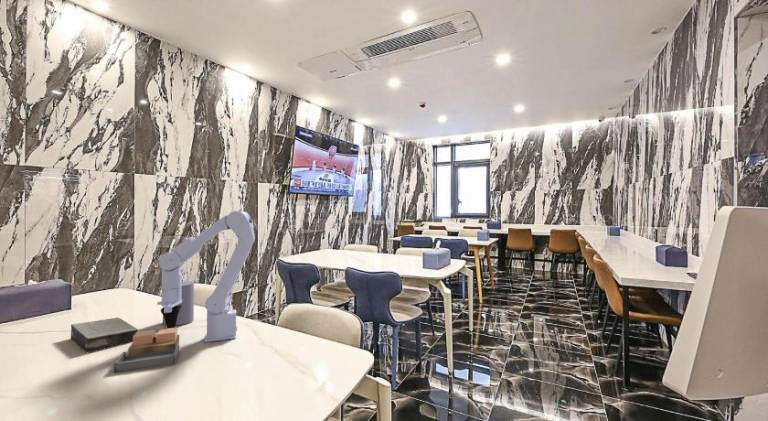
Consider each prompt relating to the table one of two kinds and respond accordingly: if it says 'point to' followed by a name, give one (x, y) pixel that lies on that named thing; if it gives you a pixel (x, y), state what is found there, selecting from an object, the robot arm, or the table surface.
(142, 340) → the tile
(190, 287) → the container
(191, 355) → the table surface
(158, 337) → the tile
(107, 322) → the stone block
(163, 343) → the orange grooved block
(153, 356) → the tray
